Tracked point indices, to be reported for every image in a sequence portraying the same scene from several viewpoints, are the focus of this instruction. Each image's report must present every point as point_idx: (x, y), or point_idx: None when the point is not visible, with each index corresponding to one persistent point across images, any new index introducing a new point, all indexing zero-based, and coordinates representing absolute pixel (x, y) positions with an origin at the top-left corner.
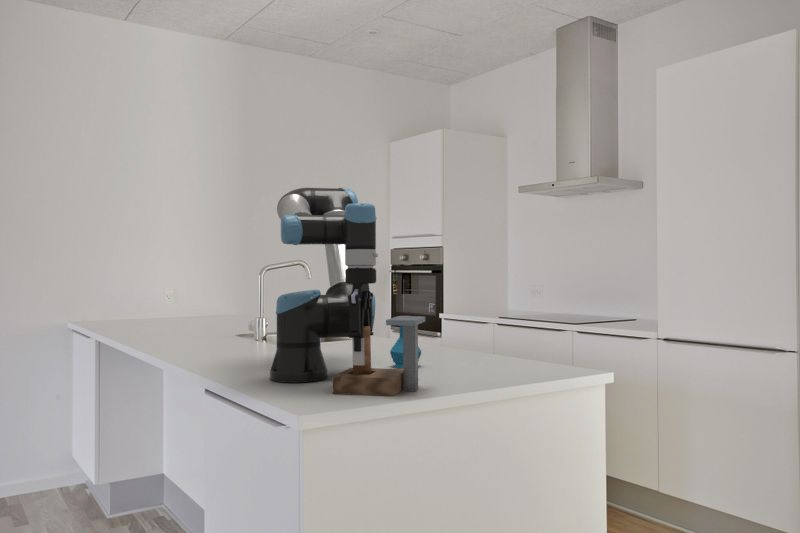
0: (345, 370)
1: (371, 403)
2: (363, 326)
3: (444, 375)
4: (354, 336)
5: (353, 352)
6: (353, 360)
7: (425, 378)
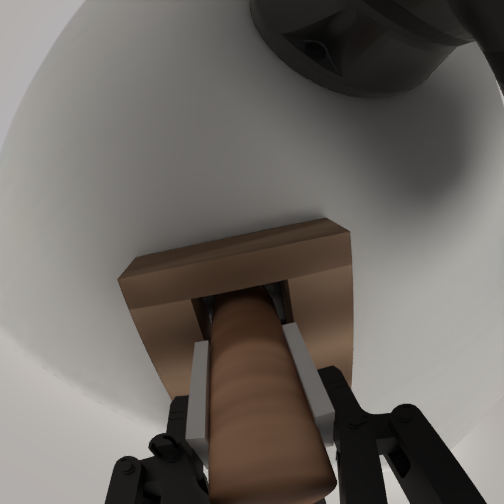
0: (273, 250)
1: (102, 385)
2: (297, 496)
3: (450, 361)
4: (147, 464)
5: (192, 382)
6: (195, 357)
7: (423, 353)
